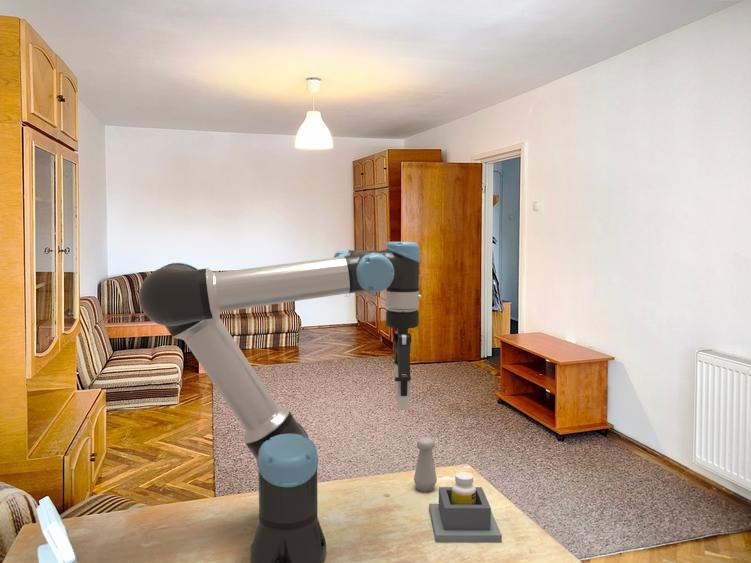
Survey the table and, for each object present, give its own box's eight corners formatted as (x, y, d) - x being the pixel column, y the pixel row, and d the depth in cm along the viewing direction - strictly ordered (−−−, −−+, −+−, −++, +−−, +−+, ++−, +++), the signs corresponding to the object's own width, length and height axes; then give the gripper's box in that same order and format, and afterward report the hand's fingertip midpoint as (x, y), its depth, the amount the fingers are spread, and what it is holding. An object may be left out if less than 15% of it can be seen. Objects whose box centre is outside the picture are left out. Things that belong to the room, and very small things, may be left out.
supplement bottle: (474, 524, 124) (476, 481, 123) (450, 522, 125) (451, 479, 124) (475, 512, 129) (476, 471, 129) (451, 510, 130) (452, 469, 130)
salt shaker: (440, 486, 146) (441, 438, 145) (430, 495, 141) (431, 445, 140) (420, 481, 149) (420, 433, 148) (409, 489, 144) (410, 440, 143)
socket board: (435, 542, 120) (436, 512, 119) (428, 509, 134) (429, 483, 133) (501, 542, 120) (502, 512, 119) (487, 509, 134) (488, 483, 133)
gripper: (424, 317, 116) (422, 418, 118) (414, 302, 141) (413, 385, 143) (387, 317, 116) (387, 417, 118) (384, 302, 141) (384, 385, 143)
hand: (401, 400), depth 131 cm, fingers open, 13 cm apart
